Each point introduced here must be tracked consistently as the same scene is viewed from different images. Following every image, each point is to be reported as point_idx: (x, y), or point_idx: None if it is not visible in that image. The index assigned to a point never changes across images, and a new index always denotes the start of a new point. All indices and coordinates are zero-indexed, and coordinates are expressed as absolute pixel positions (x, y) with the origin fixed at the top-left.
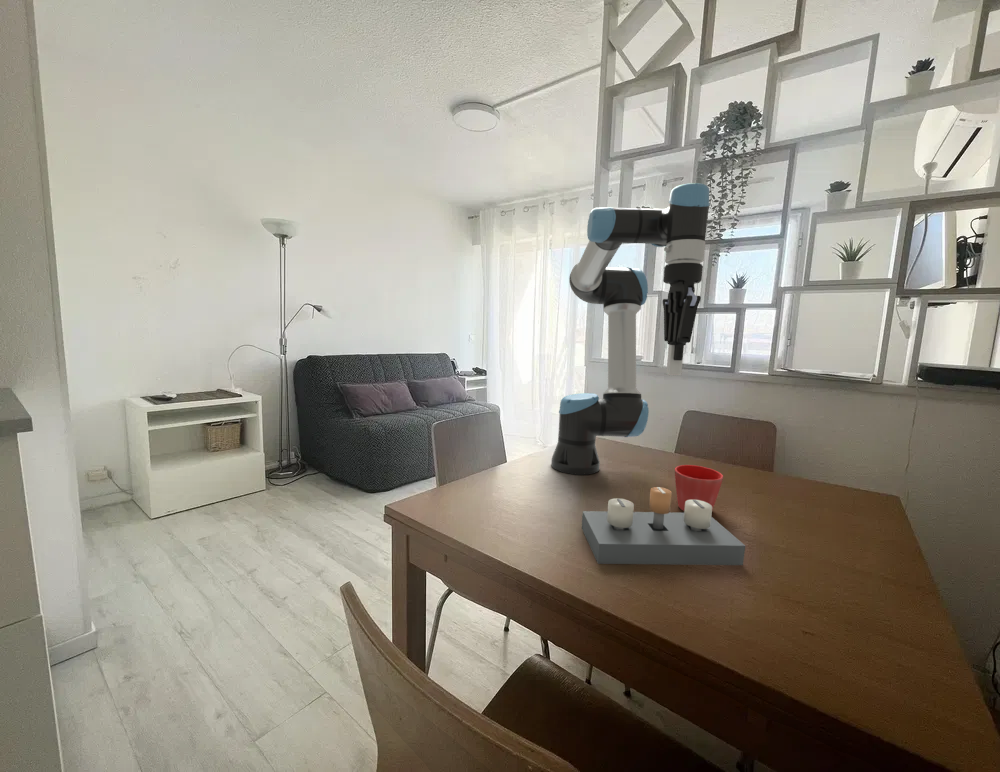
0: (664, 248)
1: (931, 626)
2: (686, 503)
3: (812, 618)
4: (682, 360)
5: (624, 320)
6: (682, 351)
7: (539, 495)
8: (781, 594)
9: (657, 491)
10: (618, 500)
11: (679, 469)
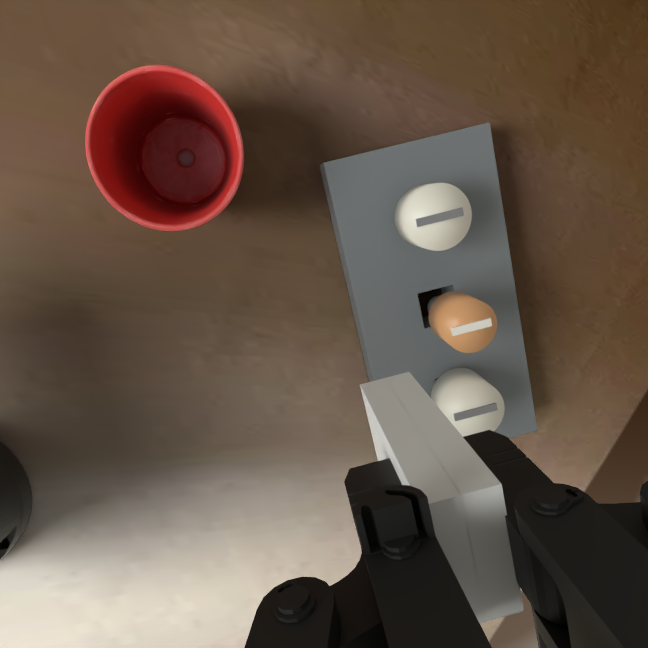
0: None
1: None
2: (439, 248)
3: (624, 65)
4: (445, 416)
5: None
6: (535, 471)
7: (230, 558)
8: (562, 90)
9: (477, 336)
10: (465, 418)
11: (128, 207)
